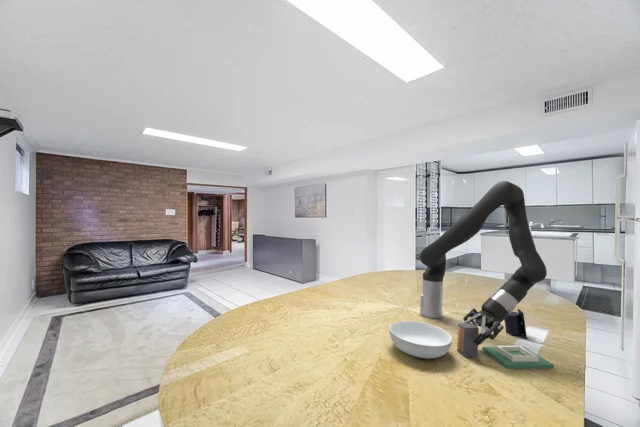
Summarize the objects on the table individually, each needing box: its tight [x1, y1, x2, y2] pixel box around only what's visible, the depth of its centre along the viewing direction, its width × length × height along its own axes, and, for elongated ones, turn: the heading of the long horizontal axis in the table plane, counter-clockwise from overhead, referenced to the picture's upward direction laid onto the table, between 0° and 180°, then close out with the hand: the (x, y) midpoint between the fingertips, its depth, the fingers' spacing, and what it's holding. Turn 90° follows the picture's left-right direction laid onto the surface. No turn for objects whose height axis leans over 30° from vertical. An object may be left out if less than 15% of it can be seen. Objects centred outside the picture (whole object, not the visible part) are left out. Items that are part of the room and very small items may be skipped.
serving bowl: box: [388, 320, 453, 359], centre depth 99 cm, size 21×21×7 cm
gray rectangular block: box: [456, 322, 480, 358], centre depth 98 cm, size 5×4×10 cm
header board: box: [482, 345, 555, 370], centre depth 96 cm, size 16×12×3 cm
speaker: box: [503, 308, 528, 340], centre depth 117 cm, size 8×6×10 cm
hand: (467, 337), depth 98 cm, fingers open, 8 cm apart
